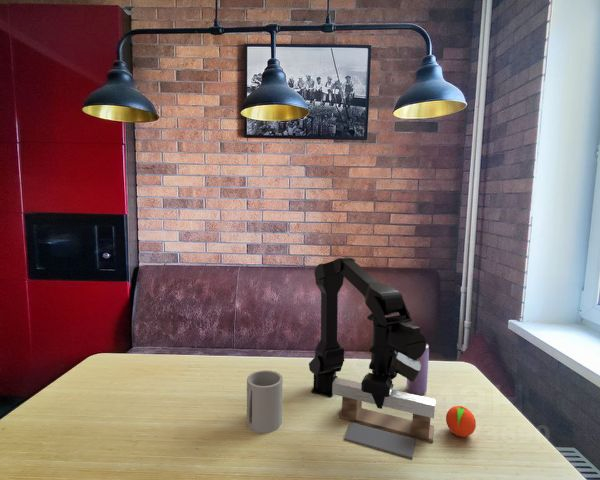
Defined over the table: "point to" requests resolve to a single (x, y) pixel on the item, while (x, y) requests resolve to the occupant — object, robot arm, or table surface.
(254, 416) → the cup
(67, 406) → the table surface
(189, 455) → the table surface
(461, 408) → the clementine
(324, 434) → the table surface
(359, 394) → the rail
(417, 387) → the beverage can
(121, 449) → the table surface
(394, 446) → the mat
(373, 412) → the rack
